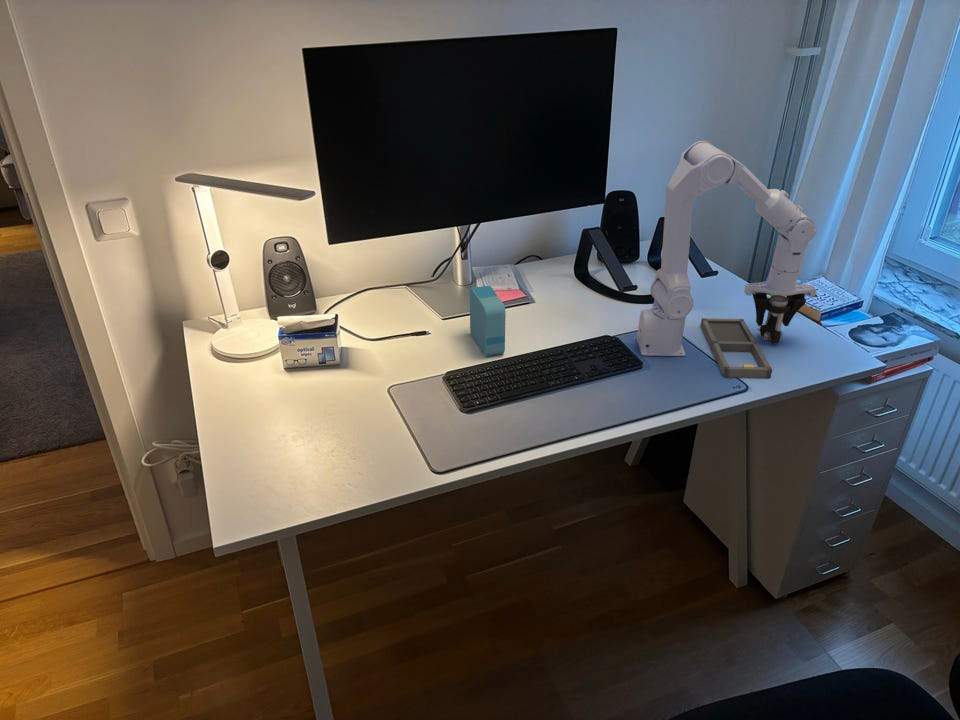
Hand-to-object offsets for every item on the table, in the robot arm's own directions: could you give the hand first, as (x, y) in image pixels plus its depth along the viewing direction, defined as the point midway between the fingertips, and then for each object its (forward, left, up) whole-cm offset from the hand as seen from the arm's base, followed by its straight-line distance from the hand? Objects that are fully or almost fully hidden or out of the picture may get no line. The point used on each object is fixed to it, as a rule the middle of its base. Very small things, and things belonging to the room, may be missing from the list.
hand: (771, 323), depth 162 cm
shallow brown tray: (-9, -5, -4) cm, 11 cm away
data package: (-63, -4, -5) cm, 63 cm away
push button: (0, 0, -4) cm, 4 cm away
